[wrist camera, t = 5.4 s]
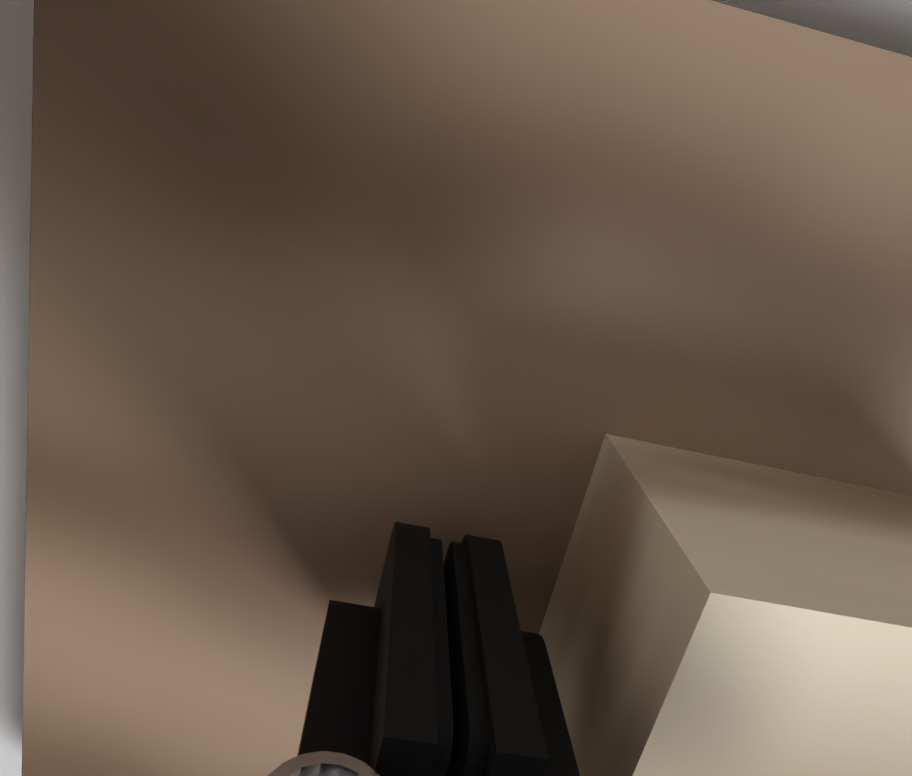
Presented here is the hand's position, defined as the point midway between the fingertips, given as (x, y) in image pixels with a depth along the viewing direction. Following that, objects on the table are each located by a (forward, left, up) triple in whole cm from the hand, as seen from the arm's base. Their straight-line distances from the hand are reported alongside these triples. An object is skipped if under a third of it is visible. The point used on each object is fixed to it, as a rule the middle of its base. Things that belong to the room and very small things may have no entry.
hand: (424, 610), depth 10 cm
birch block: (0, +5, -1) cm, 5 cm away
